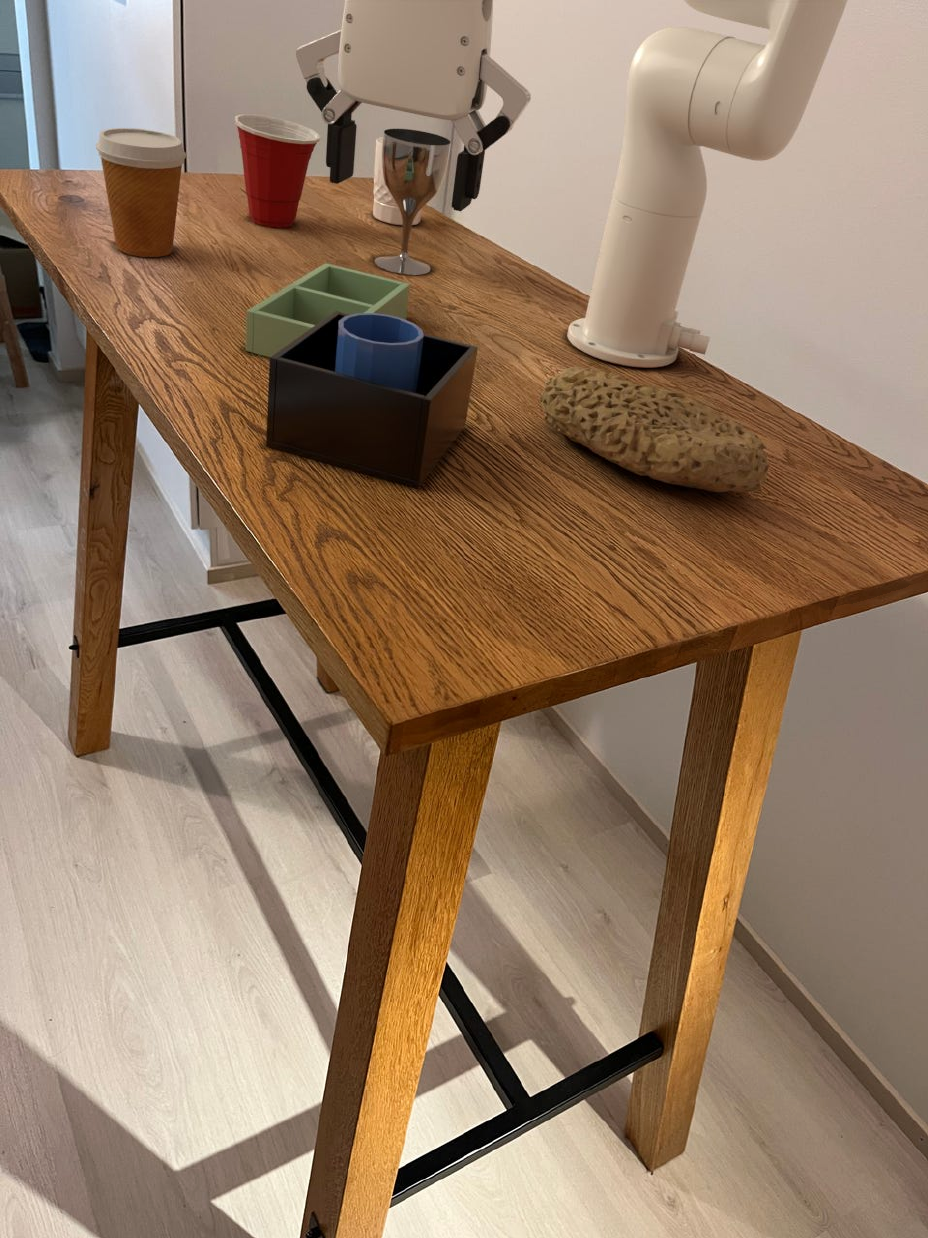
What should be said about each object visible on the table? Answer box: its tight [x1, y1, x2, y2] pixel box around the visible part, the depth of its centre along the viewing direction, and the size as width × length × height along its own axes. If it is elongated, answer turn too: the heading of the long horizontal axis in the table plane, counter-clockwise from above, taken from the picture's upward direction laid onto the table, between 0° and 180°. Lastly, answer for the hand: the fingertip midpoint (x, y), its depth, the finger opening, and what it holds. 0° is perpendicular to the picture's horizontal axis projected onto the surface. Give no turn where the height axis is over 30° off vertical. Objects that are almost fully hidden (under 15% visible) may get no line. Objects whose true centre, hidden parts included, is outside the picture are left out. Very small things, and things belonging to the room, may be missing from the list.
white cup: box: [372, 136, 423, 226], centre depth 142 cm, size 8×8×10 cm
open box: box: [265, 311, 479, 489], centre depth 85 cm, size 13×13×8 cm
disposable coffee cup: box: [95, 127, 187, 258], centre depth 115 cm, size 10×10×12 cm
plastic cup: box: [234, 113, 321, 228], centre depth 131 cm, size 11×11×12 cm
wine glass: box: [373, 128, 451, 276], centre depth 124 cm, size 8×8×15 cm
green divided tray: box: [245, 262, 411, 358], centre depth 104 cm, size 10×19×4 cm, turn 163°
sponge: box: [540, 365, 771, 493], centre depth 89 cm, size 13×8×20 cm
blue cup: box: [335, 313, 424, 393], centre depth 84 cm, size 7×7×9 cm
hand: (400, 193), depth 77 cm, fingers open, 9 cm apart
